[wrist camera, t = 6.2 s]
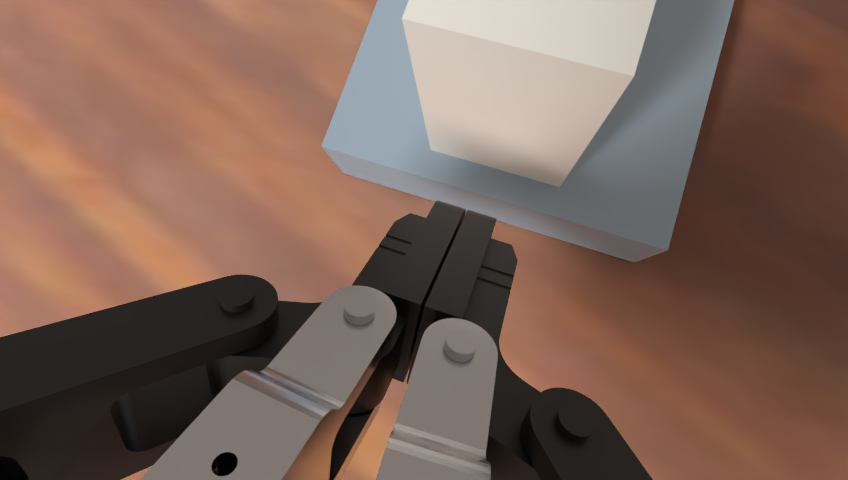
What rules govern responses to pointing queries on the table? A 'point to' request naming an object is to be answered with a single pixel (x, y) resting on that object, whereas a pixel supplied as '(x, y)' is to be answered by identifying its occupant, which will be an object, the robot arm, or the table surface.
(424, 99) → the white rectangular block
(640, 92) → the plate
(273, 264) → the table surface
